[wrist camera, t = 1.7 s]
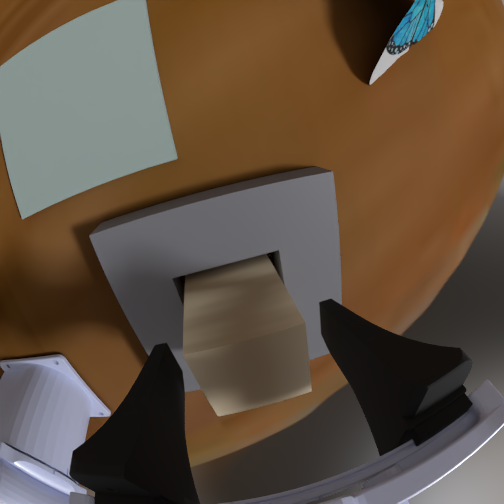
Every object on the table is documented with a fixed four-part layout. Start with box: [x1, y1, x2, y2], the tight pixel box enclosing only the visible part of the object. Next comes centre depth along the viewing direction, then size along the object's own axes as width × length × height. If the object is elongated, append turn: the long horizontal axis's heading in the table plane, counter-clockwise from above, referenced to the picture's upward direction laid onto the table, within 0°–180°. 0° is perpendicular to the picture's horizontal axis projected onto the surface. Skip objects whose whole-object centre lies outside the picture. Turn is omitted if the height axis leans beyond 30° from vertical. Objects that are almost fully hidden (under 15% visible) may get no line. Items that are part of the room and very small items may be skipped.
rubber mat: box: [0, 0, 178, 219], centre depth 10 cm, size 10×10×1 cm
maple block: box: [183, 254, 311, 416], centre depth 13 cm, size 4×4×7 cm
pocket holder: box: [89, 166, 342, 392], centre depth 15 cm, size 12×12×2 cm
